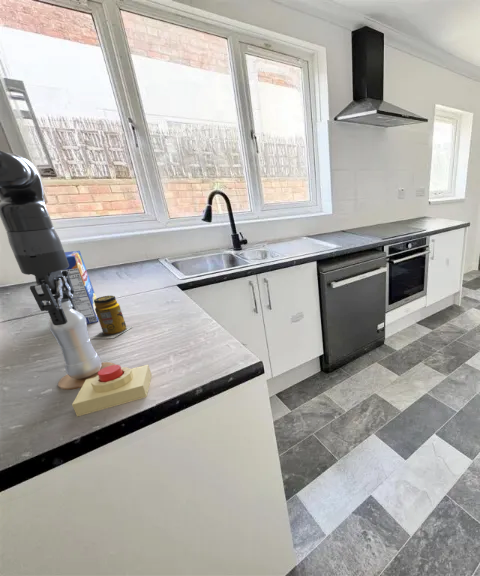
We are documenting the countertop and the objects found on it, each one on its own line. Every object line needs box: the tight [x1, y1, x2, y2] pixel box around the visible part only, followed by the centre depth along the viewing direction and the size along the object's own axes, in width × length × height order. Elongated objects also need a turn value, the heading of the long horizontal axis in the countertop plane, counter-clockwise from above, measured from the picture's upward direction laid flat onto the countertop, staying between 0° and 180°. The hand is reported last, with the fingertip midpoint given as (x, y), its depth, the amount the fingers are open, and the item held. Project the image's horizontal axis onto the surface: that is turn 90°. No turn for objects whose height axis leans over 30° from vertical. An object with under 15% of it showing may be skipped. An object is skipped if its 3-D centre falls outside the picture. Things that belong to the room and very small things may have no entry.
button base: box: [71, 364, 153, 417], centre depth 71 cm, size 12×10×5 cm
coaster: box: [57, 361, 116, 391], centre depth 79 cm, size 11×11×1 cm
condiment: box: [91, 295, 134, 340], centre depth 100 cm, size 7×8×12 cm
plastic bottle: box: [47, 299, 102, 379], centre depth 75 cm, size 6×7×20 cm
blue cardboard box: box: [61, 250, 99, 325], centre depth 108 cm, size 12×8×24 cm, turn 37°
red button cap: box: [98, 364, 123, 382], centre depth 70 cm, size 4×4×2 cm
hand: (66, 318), depth 74 cm, fingers open, 6 cm apart
